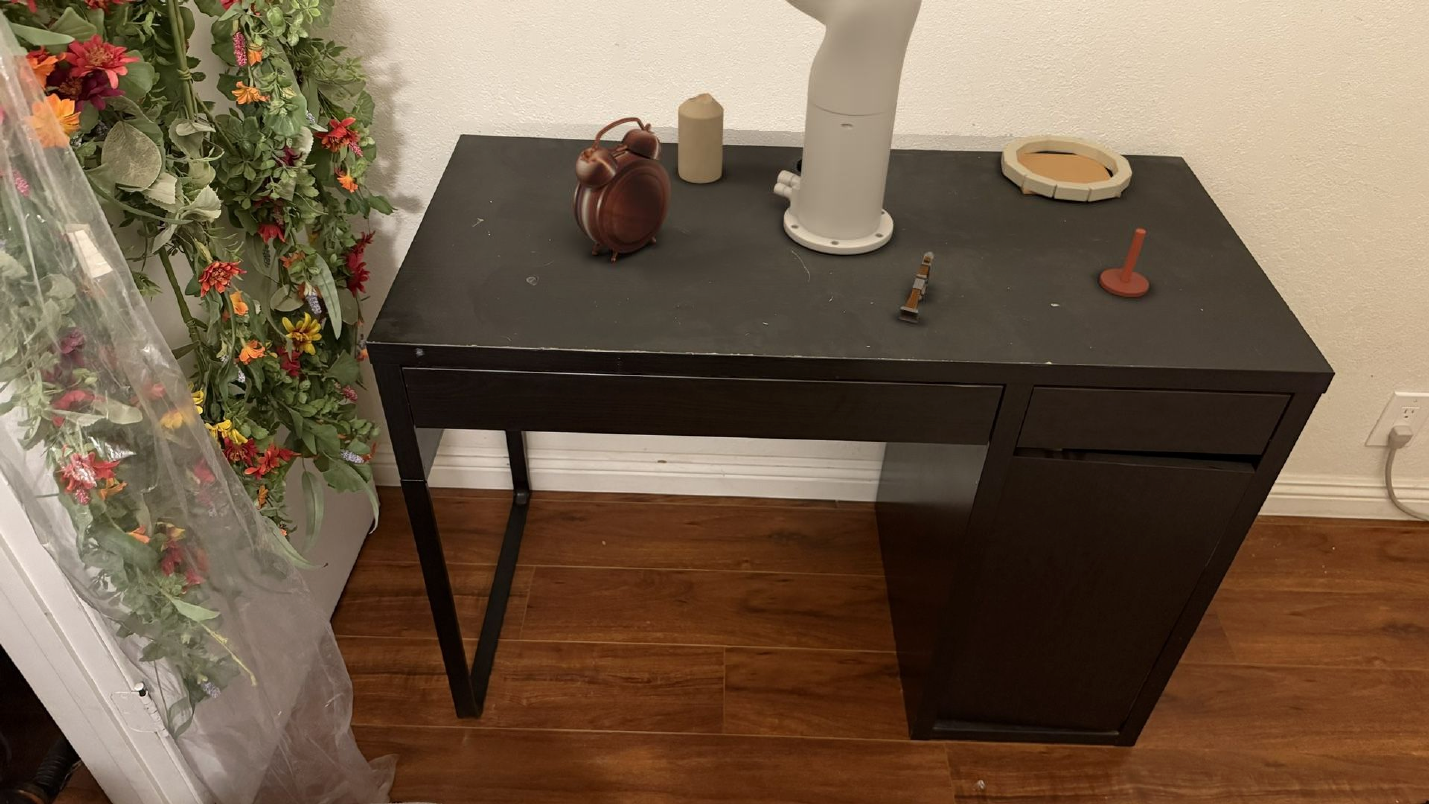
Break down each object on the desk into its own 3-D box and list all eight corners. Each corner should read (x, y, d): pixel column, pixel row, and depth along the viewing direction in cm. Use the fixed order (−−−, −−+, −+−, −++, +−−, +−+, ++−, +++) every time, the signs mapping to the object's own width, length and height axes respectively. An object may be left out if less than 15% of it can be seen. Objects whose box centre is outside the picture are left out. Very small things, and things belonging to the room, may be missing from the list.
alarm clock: (645, 225, 115) (642, 99, 105) (674, 240, 112) (674, 113, 103) (572, 259, 109) (562, 128, 99) (601, 275, 106) (593, 143, 97)
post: (1091, 286, 107) (1108, 231, 103) (1110, 268, 110) (1126, 214, 106) (1136, 303, 104) (1155, 247, 100) (1154, 284, 107) (1173, 229, 103)
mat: (1023, 193, 123) (1024, 190, 123) (1005, 155, 132) (1006, 152, 132) (1120, 197, 123) (1121, 193, 123) (1096, 158, 132) (1097, 155, 131)
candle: (695, 160, 128) (696, 85, 122) (730, 172, 126) (733, 95, 120) (669, 175, 125) (668, 98, 119) (704, 188, 123) (706, 109, 116)
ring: (1097, 213, 119) (1100, 201, 118) (979, 173, 126) (982, 162, 125) (1146, 170, 128) (1149, 159, 127) (1034, 136, 136) (1036, 125, 135)
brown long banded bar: (937, 275, 106) (939, 249, 102) (915, 336, 103) (917, 311, 99) (920, 271, 106) (922, 245, 102) (898, 332, 103) (900, 307, 99)
